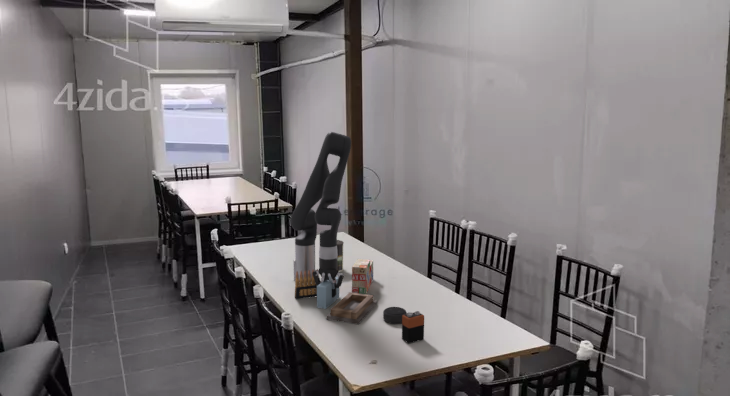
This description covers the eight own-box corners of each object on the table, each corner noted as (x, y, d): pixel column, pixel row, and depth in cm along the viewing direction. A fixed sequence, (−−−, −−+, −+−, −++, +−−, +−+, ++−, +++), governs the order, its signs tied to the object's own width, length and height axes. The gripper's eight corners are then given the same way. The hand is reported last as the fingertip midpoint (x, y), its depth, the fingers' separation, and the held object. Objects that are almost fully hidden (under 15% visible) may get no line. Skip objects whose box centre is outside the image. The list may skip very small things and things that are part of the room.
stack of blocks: (360, 278, 260) (360, 253, 258) (373, 279, 259) (373, 254, 257) (351, 293, 239) (351, 266, 237) (365, 294, 238) (366, 267, 236)
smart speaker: (399, 326, 204) (399, 316, 203) (378, 321, 209) (378, 311, 208) (410, 318, 211) (410, 309, 211) (390, 314, 216) (390, 304, 215)
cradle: (326, 319, 210) (326, 309, 209) (347, 300, 230) (347, 291, 230) (358, 324, 205) (358, 314, 205) (376, 304, 226) (377, 295, 225)
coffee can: (338, 273, 266) (338, 245, 264) (319, 271, 270) (318, 243, 268) (346, 268, 276) (346, 240, 273) (328, 265, 280) (328, 238, 277)
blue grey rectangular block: (316, 307, 222) (316, 286, 220) (330, 296, 235) (330, 276, 233) (326, 308, 221) (325, 287, 219) (339, 297, 234) (339, 277, 232)
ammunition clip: (295, 299, 231) (295, 271, 229) (294, 297, 233) (294, 270, 231) (320, 296, 235) (319, 269, 233) (318, 294, 237) (318, 268, 235)
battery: (401, 339, 193) (401, 312, 191) (416, 335, 196) (417, 308, 194) (408, 344, 189) (409, 316, 187) (424, 339, 192) (425, 312, 191)
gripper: (308, 256, 223) (308, 297, 226) (340, 260, 219) (340, 301, 221) (316, 252, 230) (316, 291, 233) (347, 255, 226) (347, 295, 228)
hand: (328, 296), depth 227 cm, fingers closed on blue grey rectangular block, 4 cm apart
